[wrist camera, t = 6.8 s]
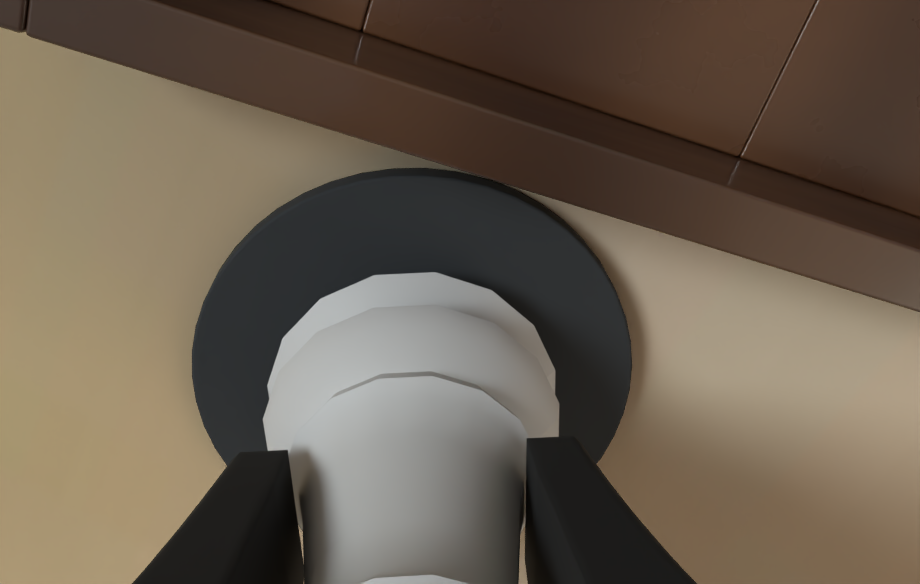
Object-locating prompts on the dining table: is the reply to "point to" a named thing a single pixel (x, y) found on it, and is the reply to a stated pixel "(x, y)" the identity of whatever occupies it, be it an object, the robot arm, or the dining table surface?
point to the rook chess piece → (410, 430)
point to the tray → (588, 104)
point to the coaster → (400, 252)
